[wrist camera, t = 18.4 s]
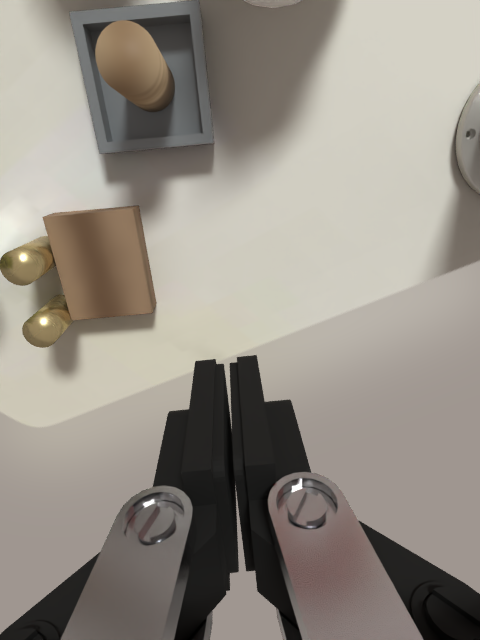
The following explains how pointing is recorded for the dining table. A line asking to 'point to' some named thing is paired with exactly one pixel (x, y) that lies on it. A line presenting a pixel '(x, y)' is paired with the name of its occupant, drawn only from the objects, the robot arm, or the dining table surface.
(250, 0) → the honey pot
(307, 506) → the robot arm
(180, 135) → the tray
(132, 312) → the brown wooden brick
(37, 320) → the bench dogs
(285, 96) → the dining table surface
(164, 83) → the dowel
